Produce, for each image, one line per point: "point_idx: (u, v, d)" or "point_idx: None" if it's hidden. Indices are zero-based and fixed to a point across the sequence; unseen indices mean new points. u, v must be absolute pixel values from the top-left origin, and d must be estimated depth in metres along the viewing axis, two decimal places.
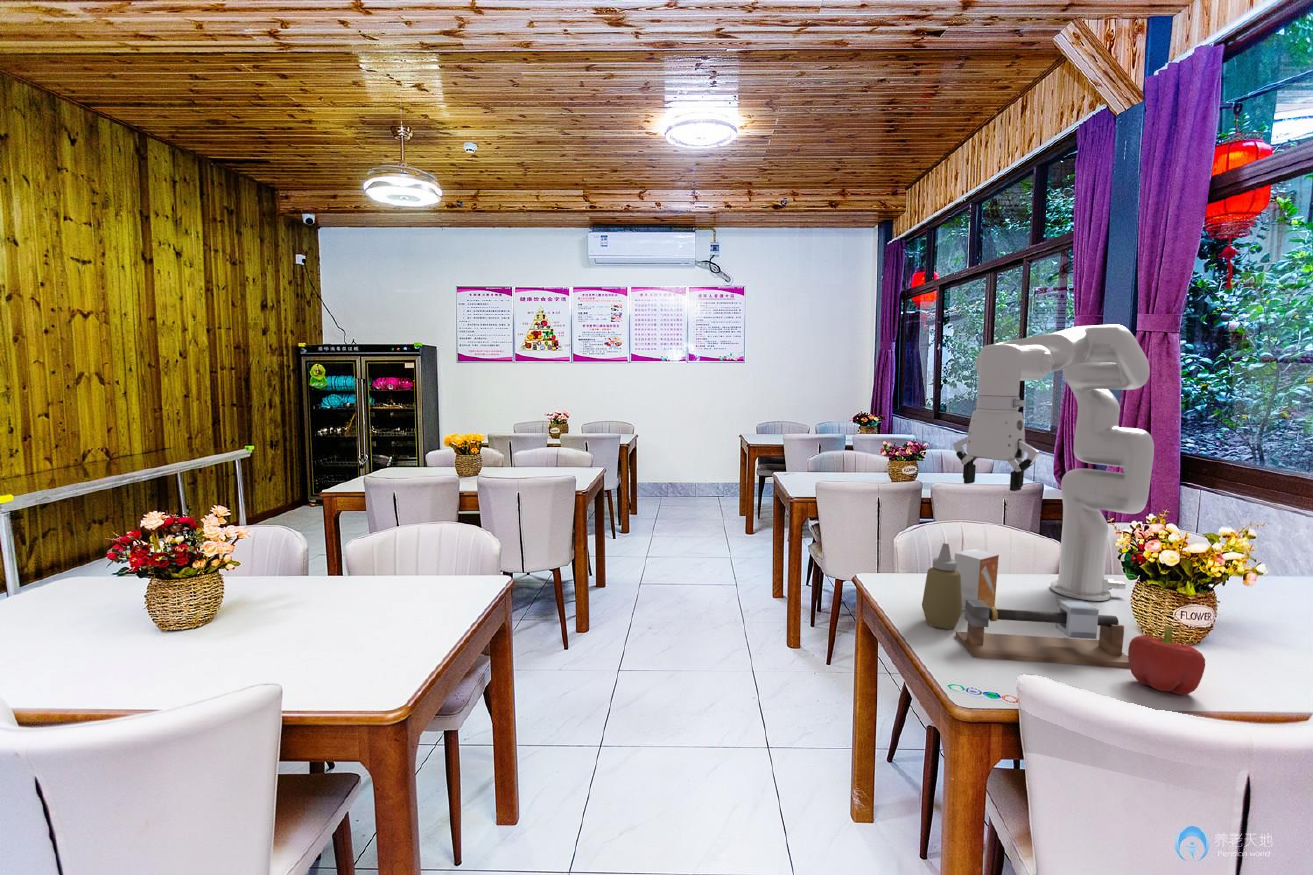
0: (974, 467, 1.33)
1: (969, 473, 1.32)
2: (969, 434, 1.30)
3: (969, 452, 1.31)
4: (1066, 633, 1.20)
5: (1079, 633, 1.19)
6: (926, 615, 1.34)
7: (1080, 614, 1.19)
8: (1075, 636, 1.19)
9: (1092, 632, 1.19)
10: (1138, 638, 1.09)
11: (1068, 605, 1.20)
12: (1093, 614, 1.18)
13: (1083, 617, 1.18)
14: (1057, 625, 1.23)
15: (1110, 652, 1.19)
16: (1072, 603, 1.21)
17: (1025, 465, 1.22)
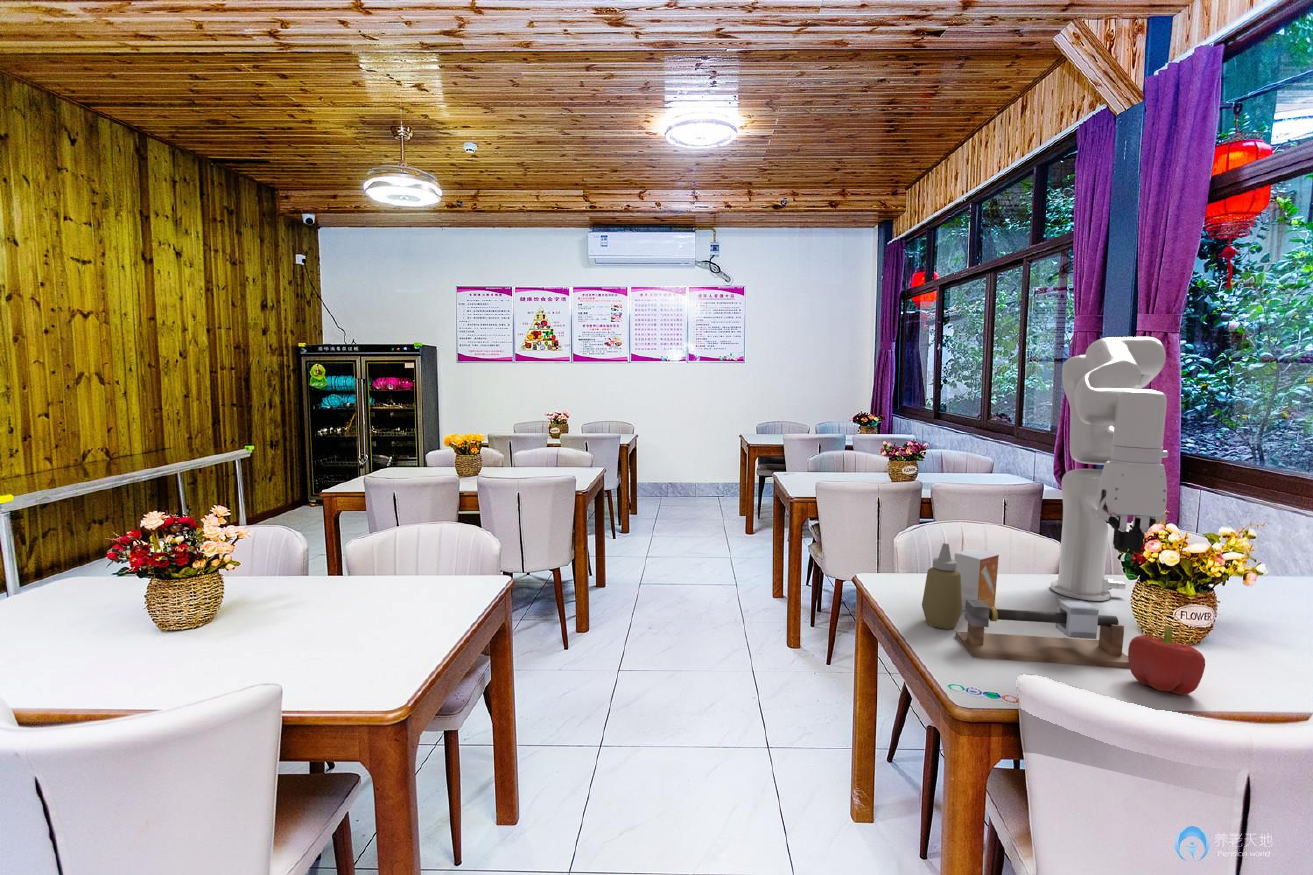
0: None
1: None
2: (1115, 490, 1.16)
3: (1114, 510, 1.16)
4: (1066, 633, 1.20)
5: (1079, 633, 1.19)
6: (926, 615, 1.34)
7: (1080, 614, 1.19)
8: (1075, 636, 1.19)
9: (1092, 632, 1.19)
10: (1138, 638, 1.09)
11: (1068, 605, 1.20)
12: (1093, 614, 1.18)
13: (1083, 617, 1.18)
14: (1057, 625, 1.23)
15: (1110, 652, 1.19)
16: (1072, 603, 1.21)
17: (1150, 525, 1.17)
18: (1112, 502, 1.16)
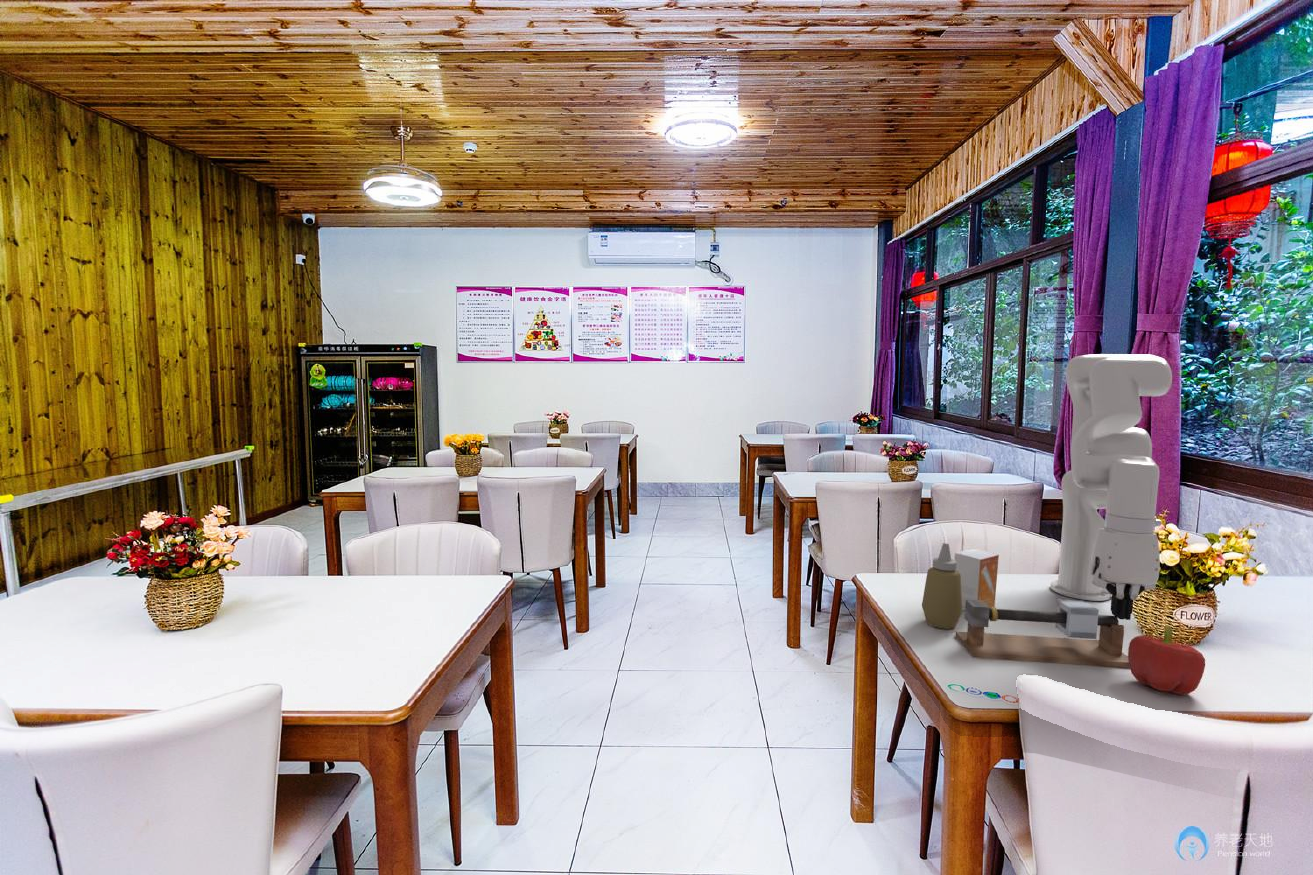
0: None
1: None
2: (1108, 559, 1.17)
3: (1107, 578, 1.18)
4: (1066, 633, 1.20)
5: (1079, 633, 1.19)
6: (926, 615, 1.34)
7: (1080, 614, 1.19)
8: (1075, 636, 1.19)
9: (1092, 632, 1.19)
10: (1138, 638, 1.09)
11: (1068, 605, 1.20)
12: (1093, 614, 1.18)
13: (1083, 617, 1.18)
14: (1057, 625, 1.23)
15: (1110, 652, 1.19)
16: (1072, 603, 1.21)
17: (1139, 592, 1.18)
18: (1105, 570, 1.17)
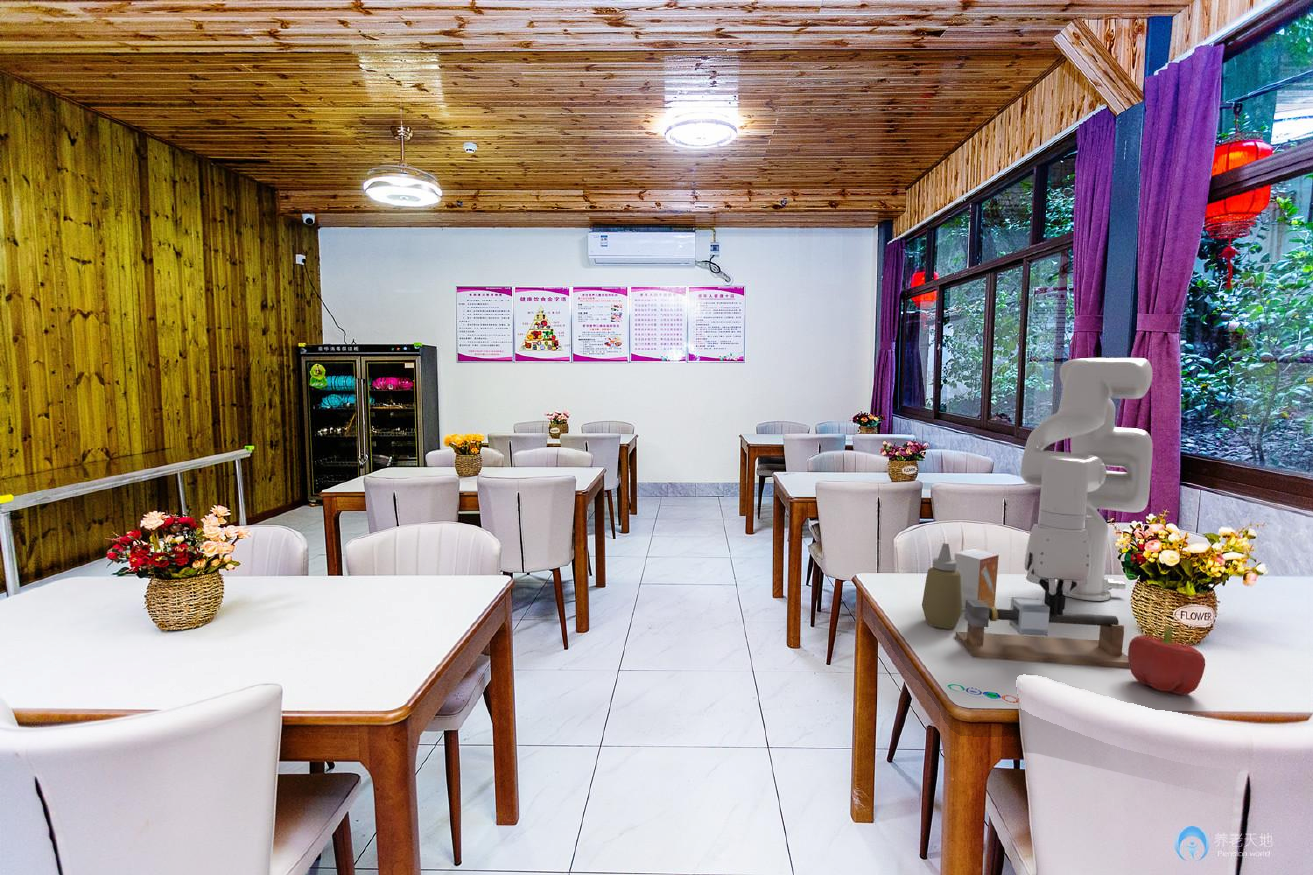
0: None
1: None
2: (1040, 555, 1.18)
3: (1040, 574, 1.19)
4: (1018, 630, 1.21)
5: (1030, 630, 1.20)
6: (926, 615, 1.34)
7: (1032, 611, 1.20)
8: (1026, 633, 1.20)
9: (1043, 629, 1.20)
10: (1138, 638, 1.09)
11: (1020, 602, 1.21)
12: (1044, 611, 1.19)
13: (1034, 615, 1.20)
14: (1010, 622, 1.24)
15: (1110, 652, 1.19)
16: (1025, 600, 1.22)
17: (1071, 587, 1.19)
18: (1038, 566, 1.19)
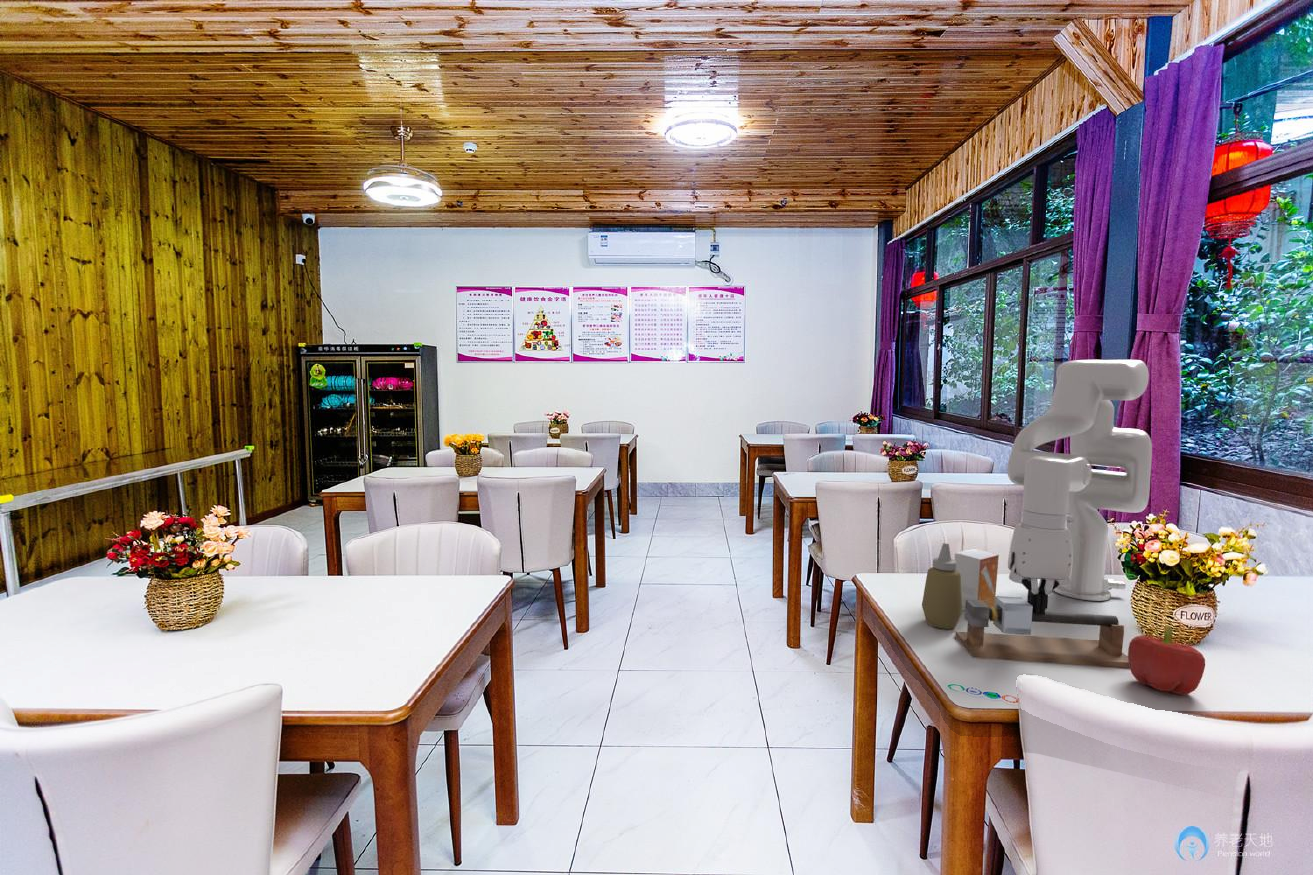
0: None
1: None
2: (1022, 554, 1.19)
3: (1022, 573, 1.19)
4: (1001, 629, 1.21)
5: (1013, 629, 1.20)
6: (926, 615, 1.34)
7: (1015, 610, 1.20)
8: (1010, 632, 1.20)
9: (1026, 628, 1.20)
10: (1138, 638, 1.09)
11: (1003, 601, 1.21)
12: (1027, 610, 1.20)
13: (1017, 614, 1.20)
14: (994, 621, 1.25)
15: (1110, 652, 1.19)
16: (1008, 599, 1.23)
17: (1054, 587, 1.20)
18: (1020, 565, 1.19)
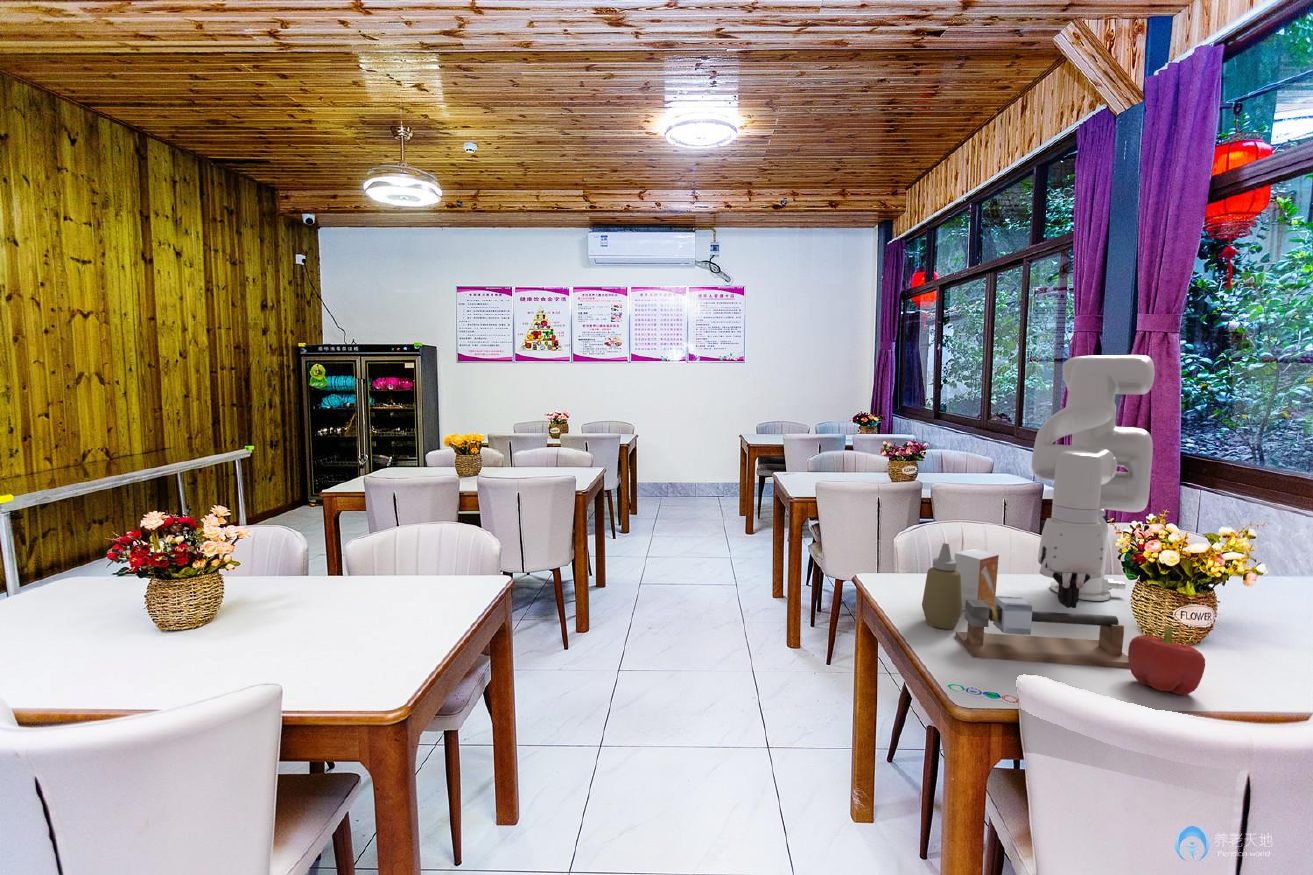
0: None
1: None
2: (1054, 549, 1.19)
3: (1053, 568, 1.20)
4: (1001, 629, 1.21)
5: (1013, 629, 1.20)
6: (926, 615, 1.34)
7: (1015, 610, 1.20)
8: (1009, 632, 1.20)
9: (1026, 628, 1.20)
10: (1138, 638, 1.09)
11: (1003, 601, 1.21)
12: (1027, 610, 1.20)
13: (1017, 614, 1.20)
14: (994, 621, 1.25)
15: (1110, 652, 1.19)
16: (1008, 599, 1.23)
17: (1085, 580, 1.20)
18: (1051, 560, 1.20)
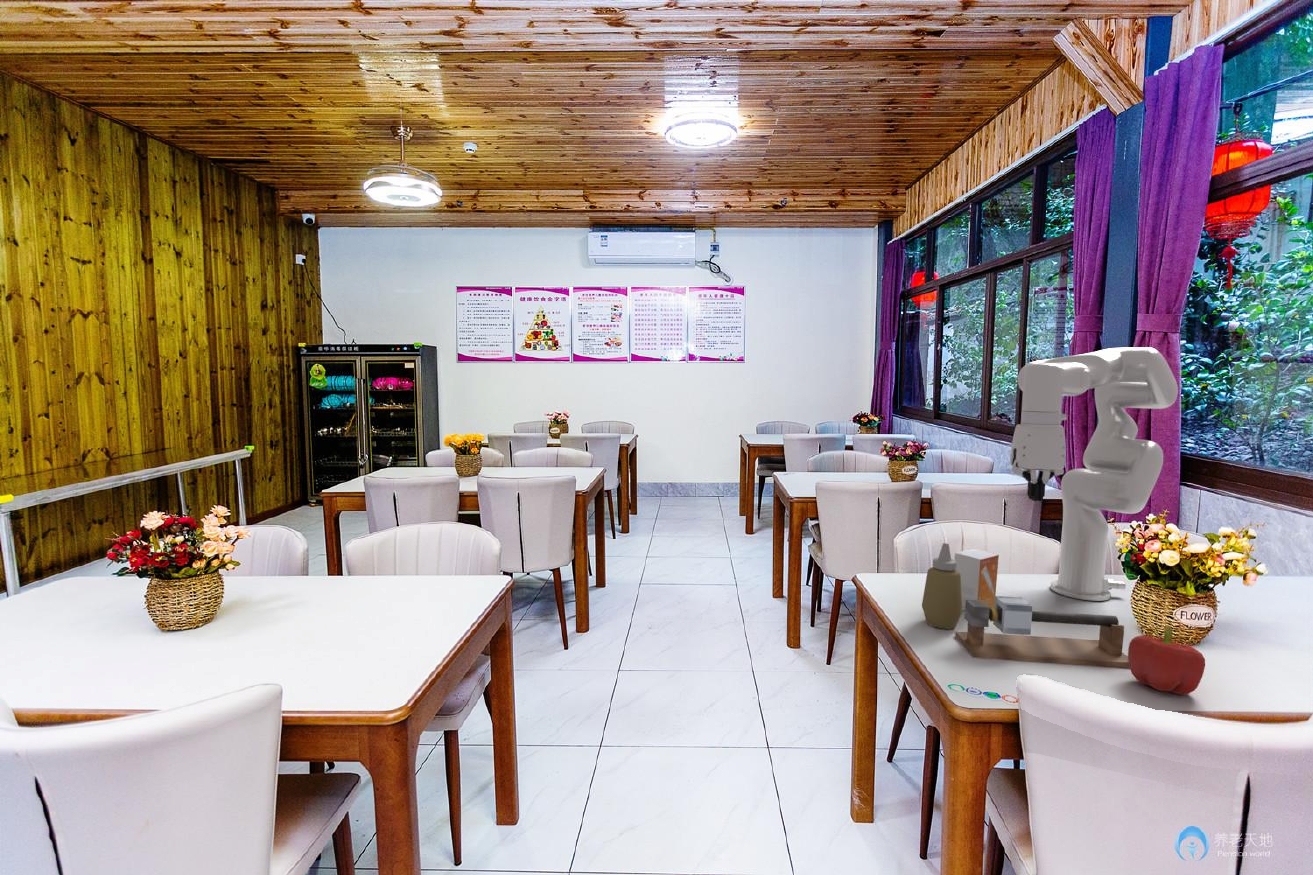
0: None
1: None
2: (1023, 448, 1.37)
3: (1023, 465, 1.37)
4: (1001, 629, 1.21)
5: (1013, 629, 1.20)
6: (926, 615, 1.34)
7: (1015, 610, 1.20)
8: (1009, 632, 1.20)
9: (1026, 628, 1.20)
10: (1138, 638, 1.09)
11: (1003, 601, 1.21)
12: (1027, 610, 1.20)
13: (1017, 614, 1.20)
14: (994, 621, 1.25)
15: (1110, 652, 1.19)
16: (1008, 599, 1.23)
17: (1050, 477, 1.38)
18: (1021, 458, 1.37)
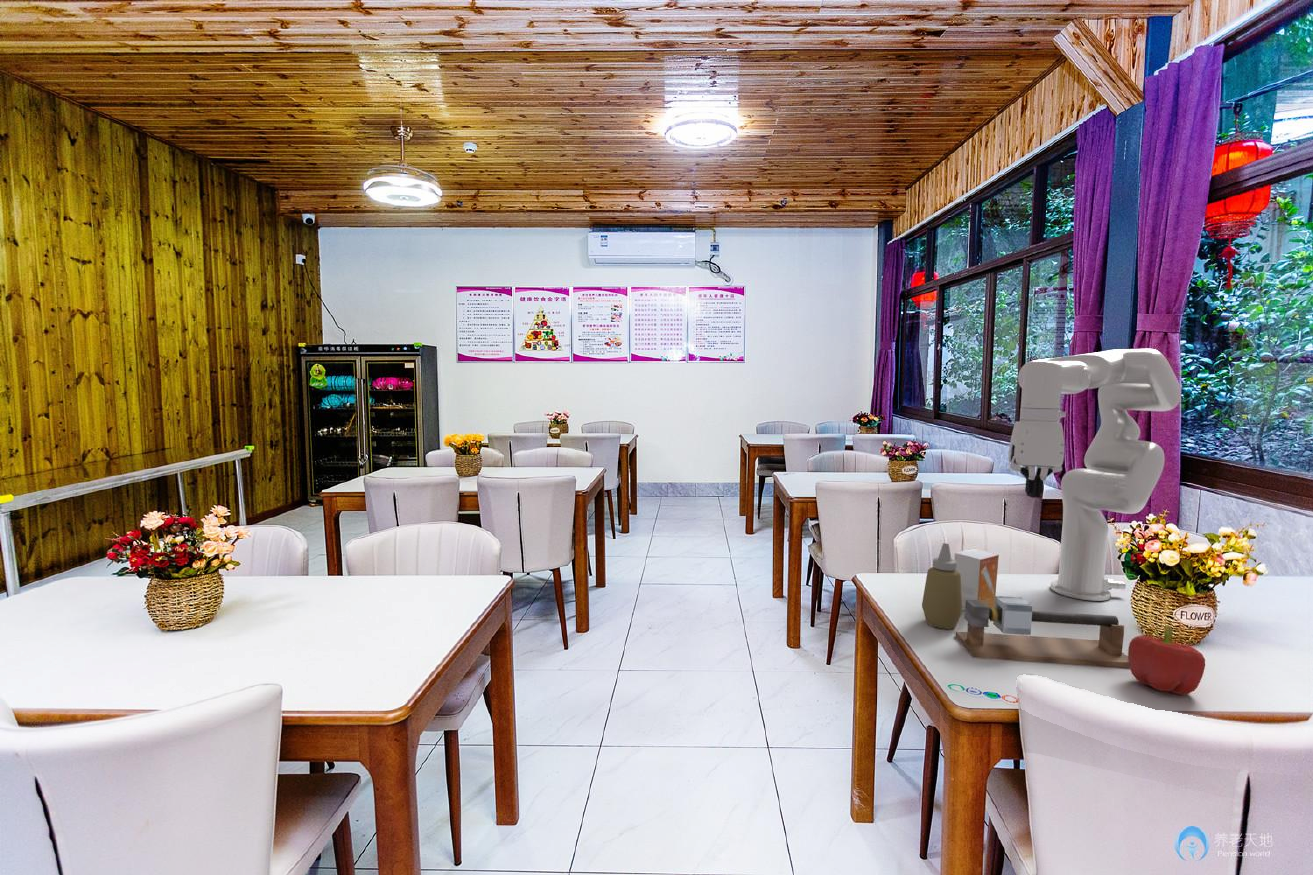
0: None
1: None
2: (1021, 445, 1.38)
3: (1021, 462, 1.38)
4: (1001, 629, 1.21)
5: (1013, 629, 1.20)
6: (926, 615, 1.34)
7: (1015, 610, 1.20)
8: (1009, 632, 1.20)
9: (1026, 628, 1.20)
10: (1138, 638, 1.09)
11: (1003, 601, 1.21)
12: (1027, 610, 1.20)
13: (1017, 614, 1.20)
14: (994, 621, 1.25)
15: (1110, 652, 1.19)
16: (1008, 599, 1.23)
17: (1048, 474, 1.39)
18: (1019, 455, 1.38)
